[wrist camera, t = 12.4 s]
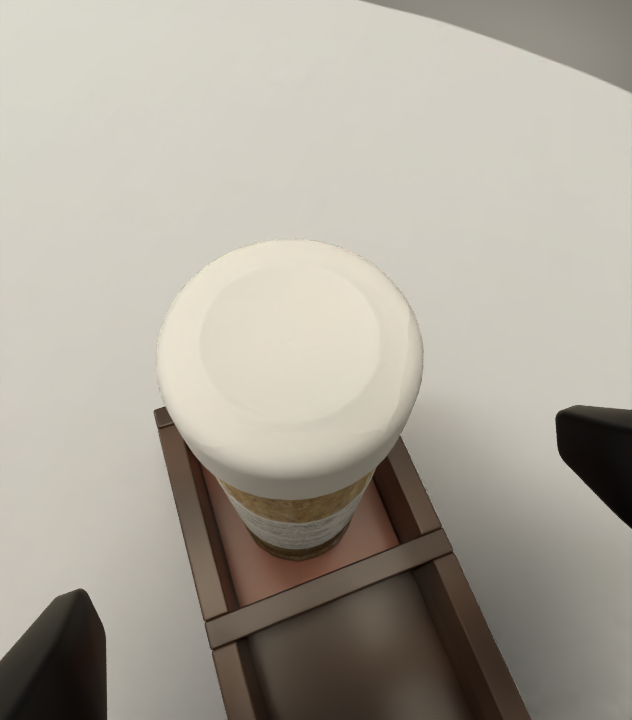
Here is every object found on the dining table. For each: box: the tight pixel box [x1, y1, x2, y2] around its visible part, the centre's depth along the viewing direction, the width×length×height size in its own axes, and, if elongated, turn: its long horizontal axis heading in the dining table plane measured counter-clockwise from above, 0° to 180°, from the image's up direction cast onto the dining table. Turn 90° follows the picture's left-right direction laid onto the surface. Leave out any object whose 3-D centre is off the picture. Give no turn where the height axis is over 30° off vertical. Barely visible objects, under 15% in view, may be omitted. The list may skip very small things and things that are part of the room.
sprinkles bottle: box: [156, 239, 424, 561], centre depth 14 cm, size 5×4×13 cm
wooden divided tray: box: [154, 406, 531, 720], centre depth 18 cm, size 15×8×4 cm, turn 20°
